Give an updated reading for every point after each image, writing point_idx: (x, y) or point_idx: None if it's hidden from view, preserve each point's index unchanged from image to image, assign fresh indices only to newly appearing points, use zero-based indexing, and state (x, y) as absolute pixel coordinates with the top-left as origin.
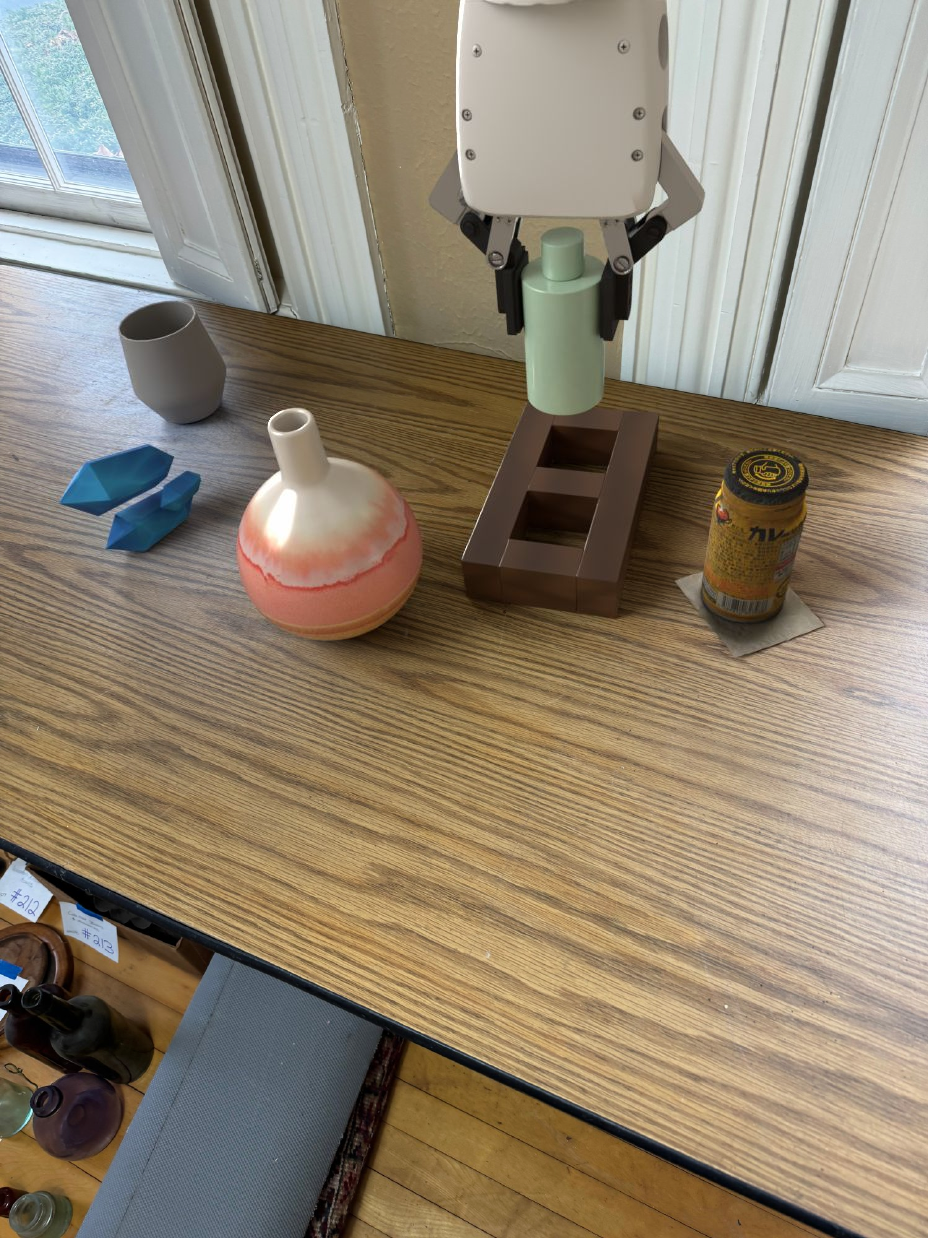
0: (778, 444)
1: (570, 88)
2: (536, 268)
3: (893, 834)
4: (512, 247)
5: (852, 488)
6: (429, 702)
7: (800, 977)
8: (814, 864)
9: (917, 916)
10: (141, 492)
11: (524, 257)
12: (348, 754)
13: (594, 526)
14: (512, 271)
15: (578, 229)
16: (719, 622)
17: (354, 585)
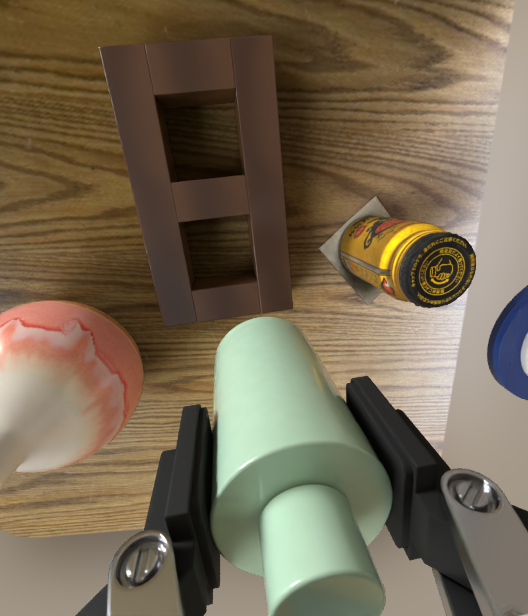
0: (386, 11)
1: None
2: (240, 522)
3: (443, 378)
4: (191, 613)
5: (451, 78)
6: (192, 396)
7: None
8: (409, 404)
9: (448, 409)
10: None
11: (206, 536)
12: (165, 440)
13: (257, 253)
14: (211, 595)
15: (364, 582)
16: (354, 276)
17: (116, 435)
